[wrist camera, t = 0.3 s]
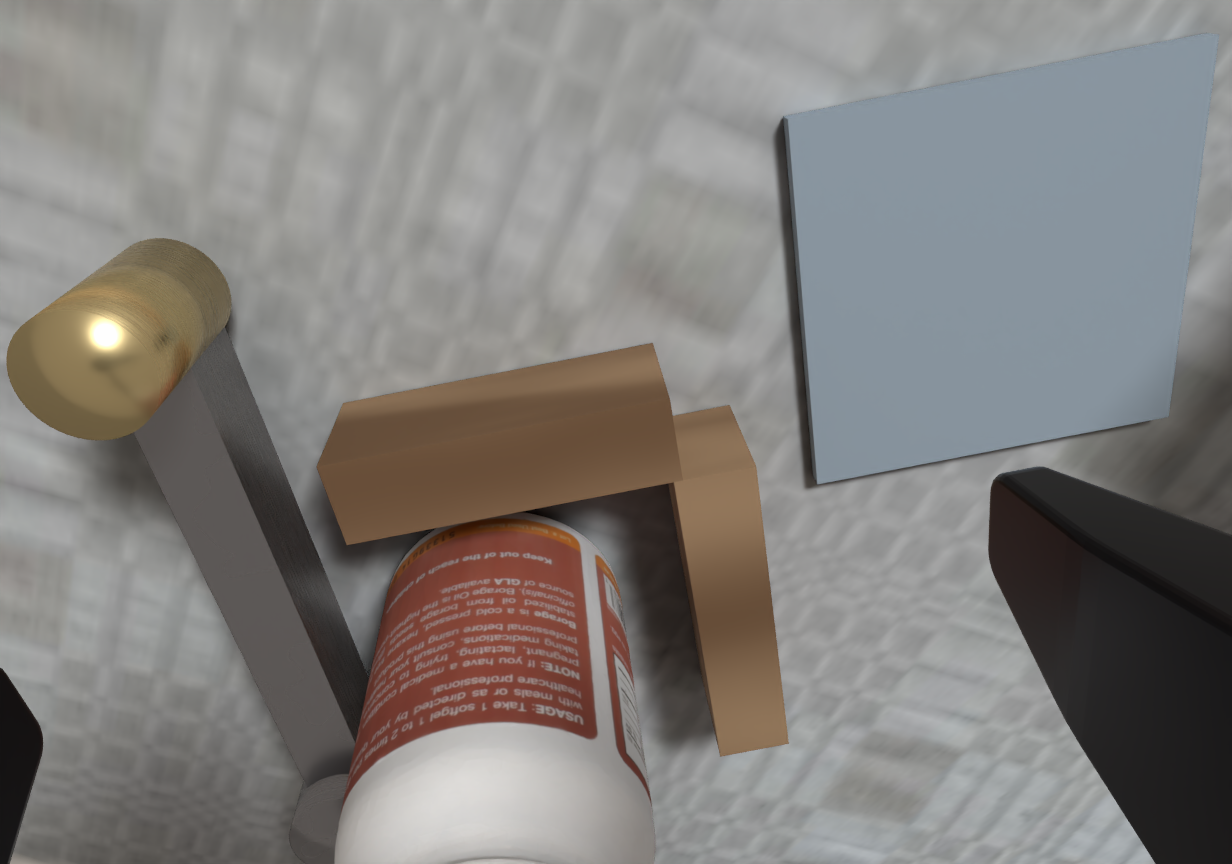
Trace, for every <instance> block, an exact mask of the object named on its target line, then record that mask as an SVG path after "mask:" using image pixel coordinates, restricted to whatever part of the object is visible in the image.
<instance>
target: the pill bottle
mask: <svg viewBox="0 0 1232 864" xmlns="http://www.w3.org/2000/svg"><path fill="white" fill-rule="evenodd" d="M655 846H656V845H655V830H654V822H653V810H652V804H651V798H650V791H649V785H648V778H647V770H646V765H645V758H644V751H643V744H642V737H641V730H640V724H639V717H638V710H637V704H636V696H635V690H634V681H633V674H632V668H631V662H630V655H629V647H628V642H627V636H626V629H625V622H624V616H623V609H622V602H621V597H620V591H619V587H618V584H617V581H616V578H615V575H614V573H613V571H612V569H611V567H610V565H609V563H608V561H607V560H606V558H605V557H604V556H603V554H602V553H601V552H600V551H599V549H598V548H597V547H596V546H595V545H594V544H592V543H591V542H590V541H589V540H588V539H587V538H586V537H584V536H583V535H581V534H580V533H579V532H577V531H575V530H574V529H572V528H571V527H569V526H567V525H565V524H563V523H560V522H558V521H555V520H552V519H550V518H547V517H543V516H539V515H535V514H530V513H524V512H517V513H512V514H506V515H501V516H496V517H491V518H486V519H480V520H475V521H470V522H465V523H460V524H455V525H449V526H444V527H439V528H436V529H435V530H433V531H432V532H430V533H429V534H427V535H426V536H425V537H423V538H422V539H421V540H420V541H419V542H417V543H416V544H415V545H414V546H413V547H412V548H411V549H410V550H409V552H408V553H407V554H406V555H405V557H404V558H403V560H402V561H401V563H400V564H399V566H398V568H397V569H396V571H395V573H394V576H393V578H392V581H391V583H390V587H389V590H388V593H387V597H386V601H385V606H384V610H383V615H382V620H381V624H380V629H379V634H378V639H377V644H376V649H375V654H374V659H373V663H372V668H371V673H370V677H369V682H368V686H367V691H366V696H365V701H364V706H363V711H362V716H361V720H360V725H359V729H358V734H357V738H356V743H355V748H354V752H353V757H352V762H351V766H350V771H349V776H348V780H347V785H346V790H345V795H344V800H343V805H342V810H341V815H340V820H339V827H338V832H337V837H336V844H335V859H334V862H335V864H654V859H655Z"/></svg>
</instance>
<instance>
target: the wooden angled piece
mask: <svg viewBox="0 0 1232 864" xmlns="http://www.w3.org/2000/svg"><path fill="white" fill-rule="evenodd" d="M317 470H318V472H319V475H320V477H321V480H322V482H323V485H324V488H325V490H326V493H327V495H328V498H329V501H330V503H331V506H332V508H333V511H334V513H335V516H336V519H337V521H338V524H339V526H340V529H341V531H342V534H343V537H344V539H345V542H346V544H347V545H351V544H356V543H361V542H366V541H372V540H377V539H382V538H387V537H392V536H397V535H403V534H408V533H413V532H418V531H423V530H429V529H434V528H439V527H444V526H449V525H455V524H460V523H465V522H470V521H475V520H480V519H486V518H491V517H496V516H501V515H506V514H512V513H517V512H522V511H527V510H532V509H538V508H543V507H548V506H553V505H558V504H563V503H569V502H574V501H579V500H584V499H589V498H595V497H600V496H605V495H610V494H615V493H621V492H626V491H631V490H636V489H641V488H646V487H652V486H657V485H662V484H667V483H668V485H669V491H670V496H671V502H672V508H673V514H674V519H675V525H676V531H677V537H678V543H679V548H680V554H681V560H682V566H683V571H684V577H685V583H686V589H687V595H688V600H689V606H690V612H691V618H692V623H693V629H694V635H695V641H696V647H697V652H698V658H699V664H700V670H701V675H702V680H703V684H704V688H705V693H706V697H707V701H708V705H709V710H710V714H711V718H712V723H713V727H714V731H715V735H716V740H717V744H718V748H719V753H720V756H726V755H731V754H736V753H742V752H747V751H752V750H757V749H763V748H768V747H773V746H779V745H784V744H789V743H788V734H787V726H786V717H785V709H784V700H783V692H782V683H781V674H780V666H779V657H778V649H777V640H776V632H775V623H774V615H773V606H772V598H771V589H770V581H769V572H768V564H767V555H766V547H765V538H764V530H763V521H762V513H761V504H760V495H759V487H758V478H757V470H756V465H755V463H754V460H753V458H752V456H751V454H750V451H749V449H748V447H747V444H746V442H745V440H744V437H743V435H742V433H741V430H740V428H739V426H738V424H737V421H736V419H735V417H734V414H733V412H732V410H731V407H730V405H727V406H722V407H717V408H712V409H707V410H701V411H696V412H691V413H686V414H681V415H676V416H672V410H671V404H670V398H669V395H668V392H667V388H666V385H665V382H664V379H663V375H662V372H661V369H660V365H659V362H658V359H657V356H656V352H655V349H654V346H653V343H650V344H645V345H640V346H635V347H630V348H625V349H619V350H614V351H609V352H604V353H599V354H594V355H589V356H583V357H578V358H573V359H568V360H563V361H558V362H553V363H547V364H542V365H537V366H532V367H527V368H522V369H517V370H511V371H506V372H501V373H496V374H491V375H486V376H481V377H475V378H470V379H465V380H460V381H455V382H450V383H445V384H439V385H434V386H429V387H424V388H419V389H414V390H409V391H403V392H398V393H393V394H388V395H383V396H378V397H373V398H367V399H362V400H357V401H352V402H347V403H343V405H342V407H341V410H340V412H339V415H338V417H337V419H336V422H335V424H334V426H333V429H332V431H331V434H330V436H329V438H328V441H327V443H326V446H325V448H324V450H323V453H322V455H321V457H320V460H319V462H318V465H317Z"/></svg>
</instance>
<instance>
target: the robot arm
mask: <svg viewBox="0 0 1232 864" xmlns="http://www.w3.org/2000/svg"><path fill="white" fill-rule="evenodd" d="M988 552H989V560H990V564H991V568H992V571H993V574H994V576H995V579H996V581H997V583H998V585H999V587H1000V589H1001V591H1002V593H1003V595H1004V597H1005V599H1006V601H1007V603H1008V605H1009V607H1010V609H1011V611H1012V613H1013V616H1014V618H1015V620H1016V622H1017V624H1018V626H1019V628H1020V630H1021V632H1022V634H1023V636H1024V638H1025V640H1026V642H1027V644H1028V646H1029V648H1030V650H1031V652H1032V654H1033V657H1034V659H1035V661H1036V663H1037V665H1038V667H1039V669H1040V671H1041V673H1042V675H1043V677H1044V679H1045V681H1046V683H1047V685H1048V687H1049V689H1050V691H1051V693H1052V695H1053V697H1054V699H1055V701H1056V703H1057V705H1058V707H1059V709H1060V711H1061V713H1062V715H1063V717H1064V719H1065V720H1066V722H1067V724H1068V726H1069V727H1070V729H1071V731H1072V732H1073V734H1074V736H1075V737H1076V739H1077V741H1078V742H1079V744H1080V746H1081V747H1082V749H1083V750H1084V752H1085V753H1086V755H1087V757H1088V758H1089V760H1090V761H1091V763H1092V764H1093V766H1094V768H1095V769H1096V771H1097V772H1098V774H1099V775H1100V777H1101V779H1102V780H1103V782H1104V783H1105V785H1106V786H1107V788H1108V790H1109V791H1110V793H1111V794H1112V796H1113V797H1114V799H1115V800H1116V802H1117V804H1118V805H1119V807H1120V808H1121V810H1122V811H1123V813H1124V815H1125V816H1126V818H1127V819H1128V821H1129V822H1130V824H1131V826H1132V827H1133V829H1134V830H1135V832H1136V833H1137V835H1138V837H1139V838H1140V840H1141V841H1142V843H1143V844H1144V846H1145V848H1146V849H1147V851H1148V852H1149V854H1150V855H1151V857H1152V859H1153V860H1154V862H1155V863H1156V864H1232V535H1230V534H1227V533H1225V532H1222V531H1219V530H1216V529H1214V528H1211V527H1208V526H1205V525H1203V524H1200V523H1197V522H1194V521H1192V520H1189V519H1186V518H1183V517H1181V516H1178V515H1175V514H1172V513H1170V512H1167V511H1164V510H1161V509H1159V508H1156V507H1153V506H1150V505H1148V504H1145V503H1142V502H1139V501H1137V500H1134V499H1131V498H1128V497H1126V496H1123V495H1120V494H1117V493H1115V492H1112V491H1109V490H1106V489H1104V488H1101V487H1098V486H1095V485H1093V484H1090V483H1087V482H1084V481H1082V480H1079V479H1076V478H1073V477H1071V476H1068V475H1065V474H1062V473H1060V472H1057V471H1054V470H1051V469H1049V468H1045V467H1033V468H1027V469H1022V470H1017V471H1012V472H1006V473H1001V474H999V475H998V476H997V477H996V478H995V479H994V480H993V483H992V486H991V492H990V518H989V545H988ZM42 751H43V735H42V731H41V728H40V725H39V723H38V721H37V720H36V718H35V717H34V715H33V714H32V712H31V711H30V709H29V708H28V706H27V705H26V703H25V702H24V700H23V699H22V697H21V695H20V694H19V692H18V691H17V689H16V688H15V686H14V685H13V683H12V682H11V680H10V679H9V677H8V676H7V674H6V673H5V672H4V670H3V669H1V668H0V864H10V861H11V857H12V854H13V850H14V847H15V844H16V840H17V837H18V834H19V830H20V827H21V823H22V820H23V817H24V813H25V810H26V807H27V803H28V800H29V796H30V793H31V790H32V786H33V783H34V780H35V776H36V773H37V769H38V766H39V763H40V759H41V756H42Z"/></svg>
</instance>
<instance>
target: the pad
mask: <svg viewBox="0 0 1232 864" xmlns="http://www.w3.org/2000/svg"><path fill="white" fill-rule="evenodd" d="M1218 39H1219V35H1218V34H1209V33H1205V34H1199V35H1194V36H1189V37H1184V38H1179V39H1174V40H1169V41H1164V42H1159V43H1154V44H1149V45H1144V46H1139V47H1133V48H1128V49H1123V50H1118V51H1113V52H1108V53H1103V54H1098V55H1093V56H1088V57H1083V58H1078V59H1072V60H1067V61H1062V62H1057V63H1052V64H1047V65H1042V66H1037V67H1032V68H1027V69H1022V70H1017V71H1011V72H1006V73H1001V74H996V75H991V76H986V77H981V78H976V79H971V80H966V81H961V82H956V83H950V84H945V85H940V86H935V87H930V88H925V89H920V90H915V91H910V92H905V93H900V94H895V95H890V96H884V97H879V98H874V99H869V100H864V101H859V102H854V103H849V104H844V105H839V106H834V107H829V108H823V109H818V110H813V111H808V112H803V113H798V114H793V115H788V116H783V119H784V131H785V143H786V155H787V167H788V179H789V191H790V203H791V215H792V227H793V239H794V251H795V264H796V276H797V288H798V300H799V312H800V324H801V336H802V348H803V360H804V372H805V384H806V396H807V409H808V421H809V433H810V445H811V457H812V469H813V477H814V479H815V481H816V483H817V484H822V483H827V482H833V481H838V480H843V479H848V478H853V477H859V476H864V475H869V474H874V473H879V472H885V471H890V470H895V469H900V468H905V467H911V466H916V465H921V464H926V463H931V462H937V461H942V460H947V459H952V458H957V457H963V456H968V455H973V454H978V453H983V452H989V451H994V450H999V449H1004V448H1009V447H1014V446H1020V445H1025V444H1030V443H1035V442H1040V441H1046V440H1051V439H1056V438H1061V437H1066V436H1072V435H1077V434H1082V433H1087V432H1092V431H1098V430H1103V429H1108V428H1113V427H1118V426H1124V425H1129V424H1134V423H1139V422H1144V421H1150V420H1155V419H1160V418H1165V417H1169V410H1170V402H1171V395H1172V387H1173V379H1174V372H1175V364H1176V357H1177V349H1178V342H1179V334H1180V327H1181V319H1182V311H1183V304H1184V296H1185V289H1186V281H1187V274H1188V266H1189V259H1190V251H1191V243H1192V236H1193V228H1194V221H1195V213H1196V206H1197V198H1198V191H1199V183H1200V175H1201V168H1202V160H1203V153H1204V145H1205V138H1206V130H1207V123H1208V115H1209V107H1210V100H1211V92H1212V85H1213V77H1214V70H1215V62H1216V55H1217V47H1218Z"/></svg>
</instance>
